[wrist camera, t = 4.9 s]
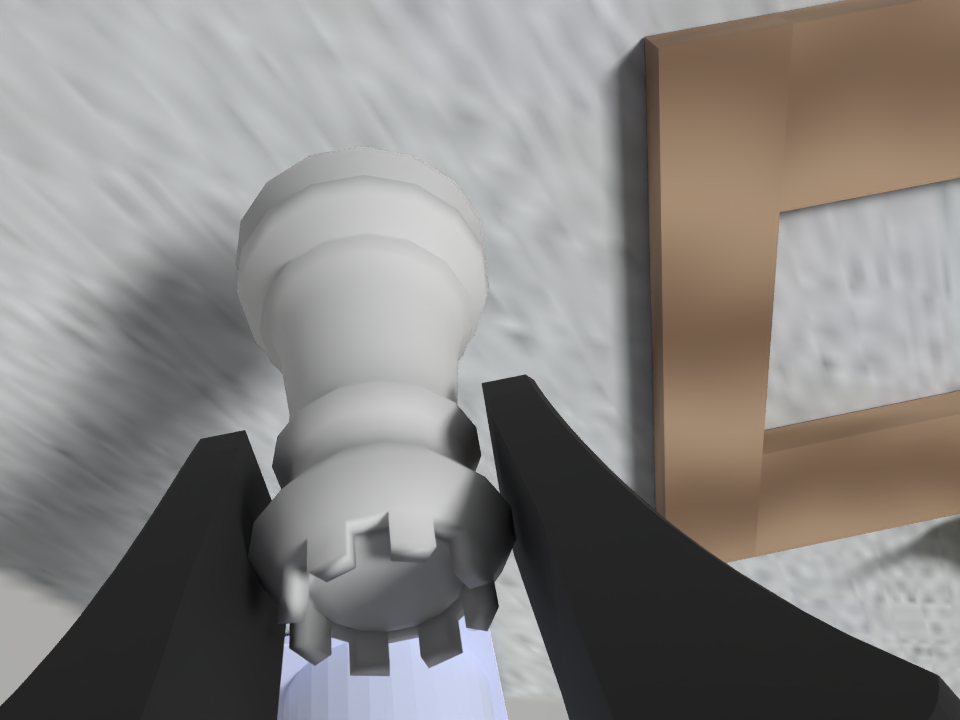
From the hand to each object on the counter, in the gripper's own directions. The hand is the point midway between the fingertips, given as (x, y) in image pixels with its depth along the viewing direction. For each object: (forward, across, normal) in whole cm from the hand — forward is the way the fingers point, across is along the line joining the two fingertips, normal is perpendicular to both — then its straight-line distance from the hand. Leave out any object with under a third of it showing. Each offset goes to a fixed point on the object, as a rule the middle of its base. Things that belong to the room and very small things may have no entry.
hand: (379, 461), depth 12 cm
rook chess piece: (+6, 0, -1) cm, 6 cm away
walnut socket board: (+10, -14, +6) cm, 19 cm away
